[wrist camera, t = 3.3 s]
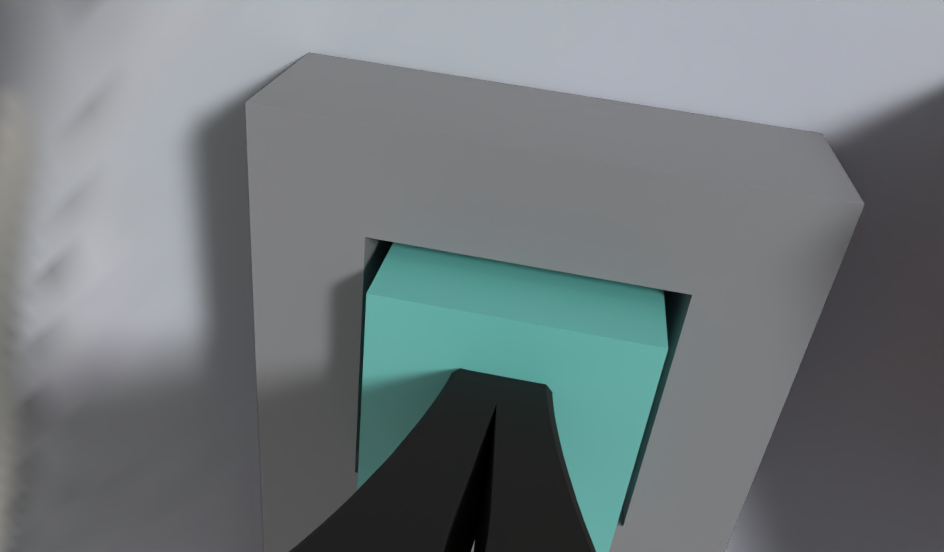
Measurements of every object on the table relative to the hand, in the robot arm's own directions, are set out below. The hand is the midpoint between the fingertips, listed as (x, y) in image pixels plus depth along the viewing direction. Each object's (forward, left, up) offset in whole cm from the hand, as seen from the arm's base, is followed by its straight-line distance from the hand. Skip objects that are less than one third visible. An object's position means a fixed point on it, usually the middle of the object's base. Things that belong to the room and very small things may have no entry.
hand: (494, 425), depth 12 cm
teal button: (0, 0, -4) cm, 4 cm away
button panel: (-8, 0, -3) cm, 9 cm away
